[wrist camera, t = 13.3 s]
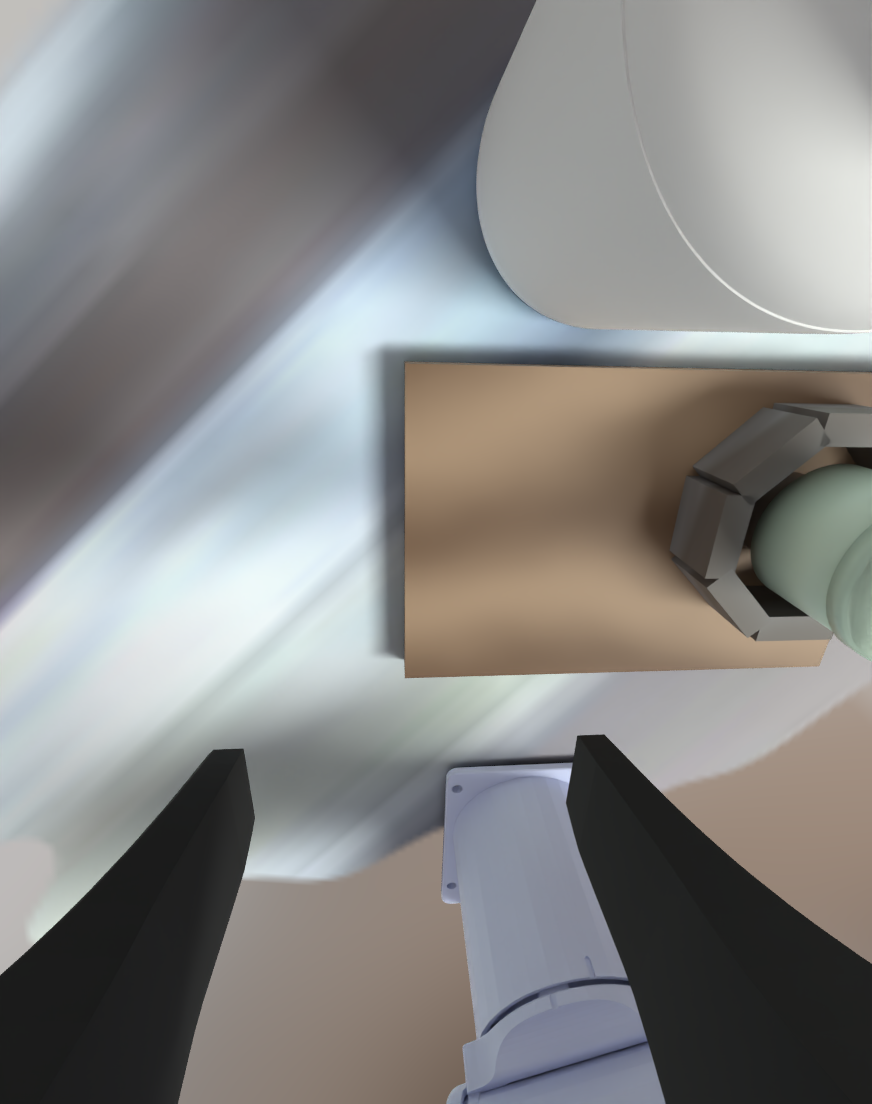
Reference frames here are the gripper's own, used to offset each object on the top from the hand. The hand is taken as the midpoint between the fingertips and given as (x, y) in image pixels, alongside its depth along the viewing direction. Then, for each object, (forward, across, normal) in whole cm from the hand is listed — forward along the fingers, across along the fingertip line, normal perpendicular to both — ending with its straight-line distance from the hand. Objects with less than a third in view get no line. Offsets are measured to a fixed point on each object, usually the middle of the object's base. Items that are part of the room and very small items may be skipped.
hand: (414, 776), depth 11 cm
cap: (+7, -14, -3) cm, 16 cm away
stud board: (+10, -9, -2) cm, 14 cm away
